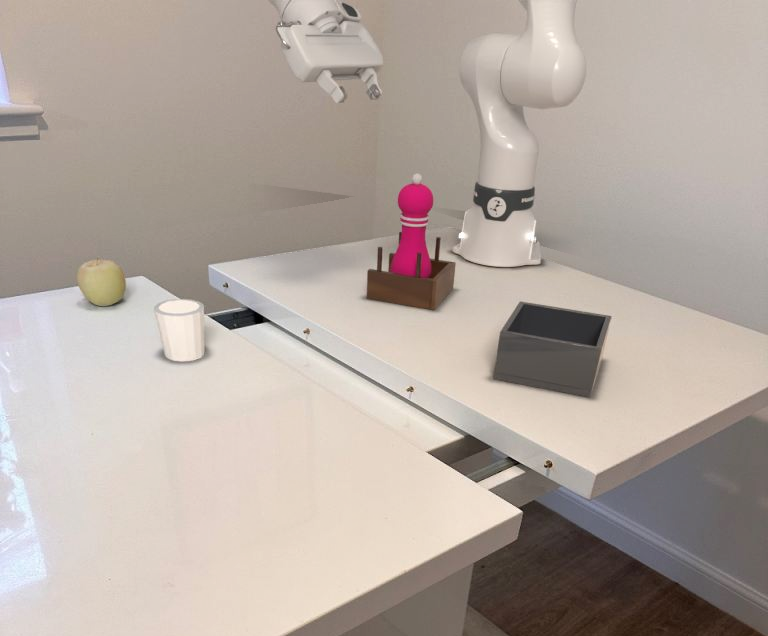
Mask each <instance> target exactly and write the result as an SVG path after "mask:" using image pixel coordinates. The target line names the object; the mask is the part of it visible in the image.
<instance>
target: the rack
mask: <svg viewBox="0 0 768 636" xmlns="http://www.w3.org/2000/svg"><path fill="white" fill-rule="evenodd" d="M401 234H402V231H399V232H398V244H399V243H400V240H401ZM441 239H442V237H441V236H436V237H435V248H434V258H430V260H431V275H430V277H429V278H425V277H420V273H421V259H422V253H417V262H416V276H412V275H406V274H399V273H393V272H391V263H392V260H393V257H394V255H395V253H396V252H390V253H388V271H386V270H382V268H383V267H382V266H383V247H382V246H377V254H376V255H377V259H376V269H373V268H369V269H367V272H366V273H367V274H366V276H367V277H366V300H372V301H379V302H383V303H390V304H394V305H395V304H397V305H401V306H402V305H403V306H408V307H413V308H414V307H415V308H420V309H426V310H431V311H435V310H436V309H437V308H438V307H439V306H440V305H441V303H442V302H444V301H445V299H446V298H447V297H448V296H449V295H450V294H451V293H452V291H453V290H454V284H455V276H456V275H455V274H456V264H457V263H456V262H455V261H451V260H450V261H449V260H443V259H440V250H441Z"/></svg>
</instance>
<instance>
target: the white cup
mask: <svg viewBox="0 0 768 636" xmlns="http://www.w3.org/2000/svg"><path fill="white" fill-rule="evenodd" d="M153 313H154V316H155V320H156V324H157V329H158V334H159V336H160V337H159V338H160V341H161V344H162V350H163V353H164V356H165V358H166V359H168V360H170V361H173V362H192V361H196V360H198V359H201V358H203V357H204V356H205V352H206V351H205V305H204V304H203V303H202V302H201V301H198V300H194V299H189V298H175V299H168V300H167V299H166V300H163V301H161V302H158V303H157V304H155V305H154V307H153Z"/></svg>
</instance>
